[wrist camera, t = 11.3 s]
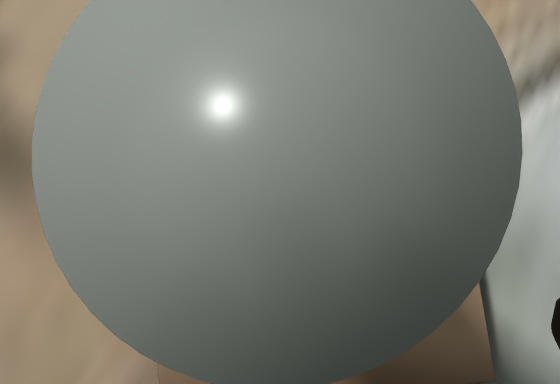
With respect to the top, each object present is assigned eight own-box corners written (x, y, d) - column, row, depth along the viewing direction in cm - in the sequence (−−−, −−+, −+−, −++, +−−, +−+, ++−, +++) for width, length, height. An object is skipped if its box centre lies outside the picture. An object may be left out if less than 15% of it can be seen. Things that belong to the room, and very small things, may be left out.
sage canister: (354, 313, 17) (471, 458, 4) (223, 280, 17) (-34, 314, 5) (383, 182, 18) (559, -48, 5) (256, 153, 18) (110, -119, 5)
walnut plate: (485, 374, 17) (496, 381, 16) (169, 402, 18) (160, 410, 17) (434, 69, 19) (440, 59, 18) (150, 107, 20) (142, 99, 19)
